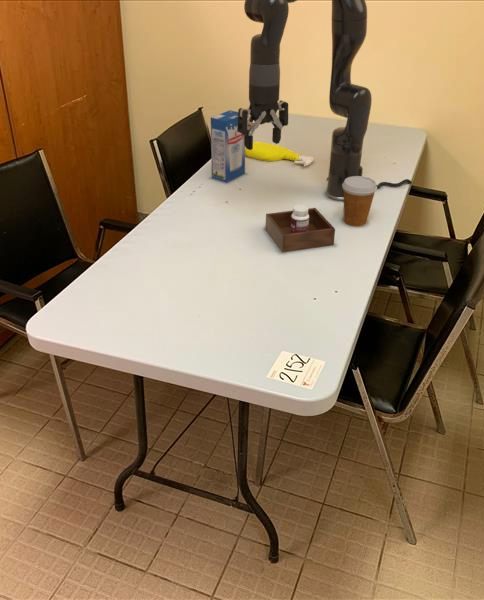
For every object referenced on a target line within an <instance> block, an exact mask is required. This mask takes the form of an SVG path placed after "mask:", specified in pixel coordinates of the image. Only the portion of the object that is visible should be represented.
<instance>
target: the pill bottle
mask: <svg viewBox="0 0 484 600" xmlns="http://www.w3.org/2000/svg"><path fill="white" fill-rule="evenodd" d="M308 209H309V206H307V205H304V204H296V205H294V206H293V208H292V211H293V213H292V215H291V231H290V234H292V233H299V232H307V231H308V226H309V214H308Z"/></svg>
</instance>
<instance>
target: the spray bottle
mask: <svg viewBox="0 0 484 600" xmlns="http://www.w3.org/2000/svg"><path fill="white" fill-rule="evenodd" d="M245 157H248V158H251V159H255V160H259V161H264V162H277V161H281V160H290V161H293V163H294V164H302V165H303V166H304V167H307V166H309V165H310V164H312V163H313V162H314V157H313V156H311V155H310V156H307V155H301V154H300V153H297V152H295V151H292V150H290V149H289V148H287V147H284V146H280V145H277V144H272V143H267V142H261V141H253V149H252V150H248V149H247V148H246V147H245Z"/></svg>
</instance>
